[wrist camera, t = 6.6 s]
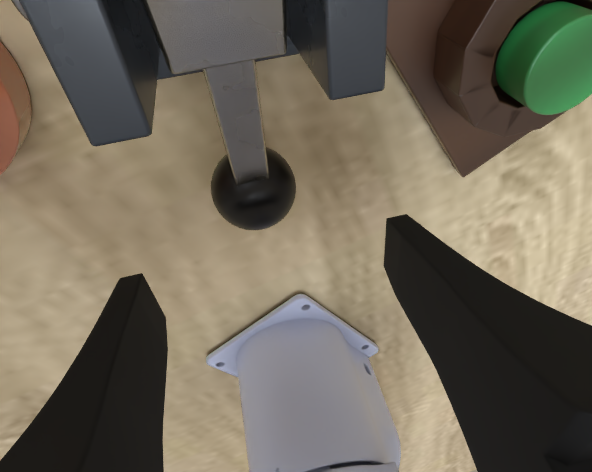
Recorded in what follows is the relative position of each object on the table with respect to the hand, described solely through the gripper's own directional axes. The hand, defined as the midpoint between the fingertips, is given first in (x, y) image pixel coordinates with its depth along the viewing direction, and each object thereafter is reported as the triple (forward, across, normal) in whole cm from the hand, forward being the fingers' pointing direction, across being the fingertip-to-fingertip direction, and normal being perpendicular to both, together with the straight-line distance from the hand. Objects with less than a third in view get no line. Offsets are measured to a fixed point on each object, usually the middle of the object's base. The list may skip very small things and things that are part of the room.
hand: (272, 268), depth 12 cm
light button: (+5, -11, -3) cm, 12 cm away
